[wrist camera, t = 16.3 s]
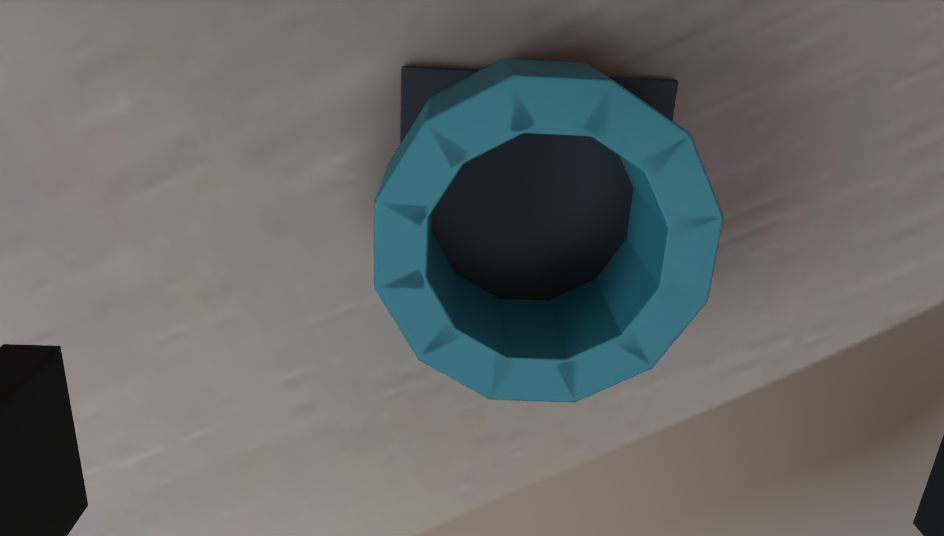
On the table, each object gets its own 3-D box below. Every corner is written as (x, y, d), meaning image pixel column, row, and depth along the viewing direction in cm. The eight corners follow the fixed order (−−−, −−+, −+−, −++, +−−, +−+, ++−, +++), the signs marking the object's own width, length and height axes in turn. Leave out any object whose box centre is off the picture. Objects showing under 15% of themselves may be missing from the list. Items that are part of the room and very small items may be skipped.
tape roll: (386, 331, 30) (373, 396, 25) (389, 52, 26) (374, 67, 21) (652, 341, 30) (688, 406, 26) (696, 68, 26) (748, 87, 22)
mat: (397, 316, 30) (397, 320, 30) (402, 65, 26) (401, 66, 26) (638, 325, 30) (640, 329, 30) (675, 79, 27) (678, 81, 26)
